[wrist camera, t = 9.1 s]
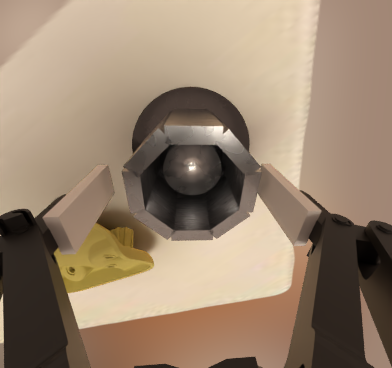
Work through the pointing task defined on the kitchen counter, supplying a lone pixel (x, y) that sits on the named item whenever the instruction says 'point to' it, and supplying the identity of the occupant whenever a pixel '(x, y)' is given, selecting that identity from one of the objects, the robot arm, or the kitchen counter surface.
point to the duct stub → (191, 154)
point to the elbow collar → (191, 204)
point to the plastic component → (102, 259)
